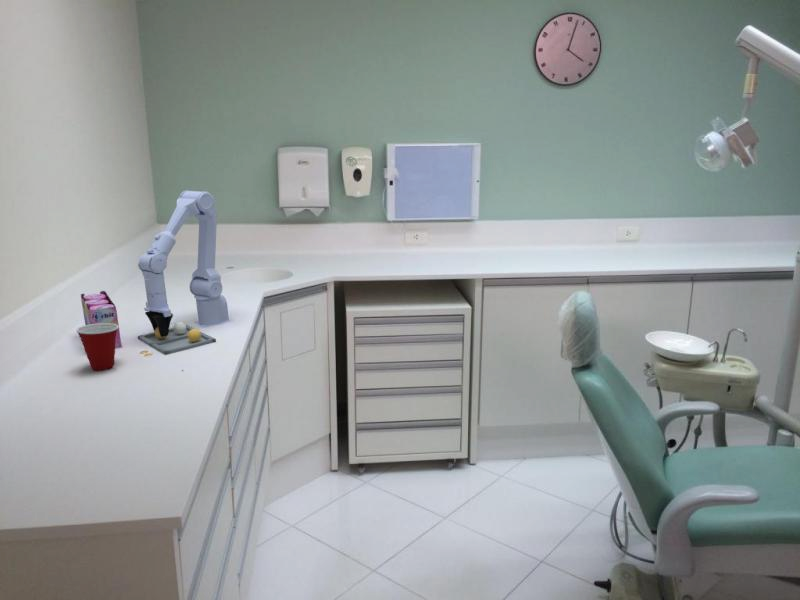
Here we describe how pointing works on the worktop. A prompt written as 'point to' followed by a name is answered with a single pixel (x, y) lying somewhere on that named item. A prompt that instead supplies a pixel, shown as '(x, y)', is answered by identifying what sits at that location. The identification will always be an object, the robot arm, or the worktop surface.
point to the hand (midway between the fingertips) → (161, 334)
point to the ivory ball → (179, 328)
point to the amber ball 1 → (158, 334)
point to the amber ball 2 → (194, 335)
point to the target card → (146, 354)
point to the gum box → (100, 311)
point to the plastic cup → (99, 344)
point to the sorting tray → (175, 341)
